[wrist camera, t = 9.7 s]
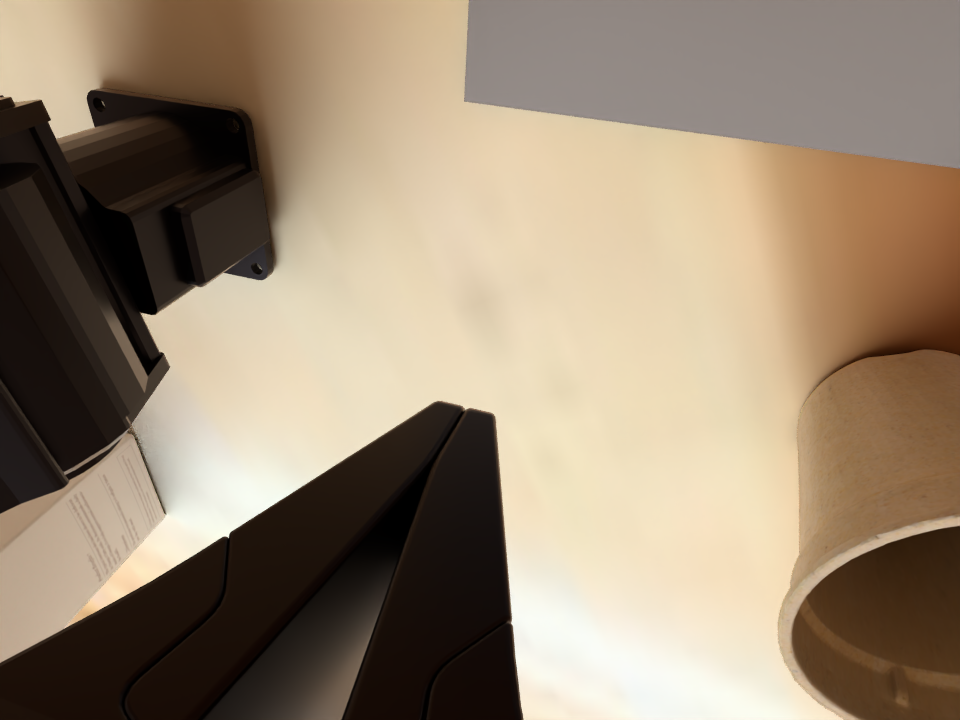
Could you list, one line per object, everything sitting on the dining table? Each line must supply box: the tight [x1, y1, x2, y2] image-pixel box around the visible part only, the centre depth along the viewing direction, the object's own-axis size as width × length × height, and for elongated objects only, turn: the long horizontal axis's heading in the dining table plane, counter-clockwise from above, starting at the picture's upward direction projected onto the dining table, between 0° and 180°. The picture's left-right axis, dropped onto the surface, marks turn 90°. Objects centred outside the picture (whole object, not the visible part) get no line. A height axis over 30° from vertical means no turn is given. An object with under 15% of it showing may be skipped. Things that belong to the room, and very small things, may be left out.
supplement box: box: [0, 433, 165, 662], centre depth 31 cm, size 7×7×13 cm
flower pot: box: [778, 349, 960, 720], centre depth 17 cm, size 9×9×9 cm
